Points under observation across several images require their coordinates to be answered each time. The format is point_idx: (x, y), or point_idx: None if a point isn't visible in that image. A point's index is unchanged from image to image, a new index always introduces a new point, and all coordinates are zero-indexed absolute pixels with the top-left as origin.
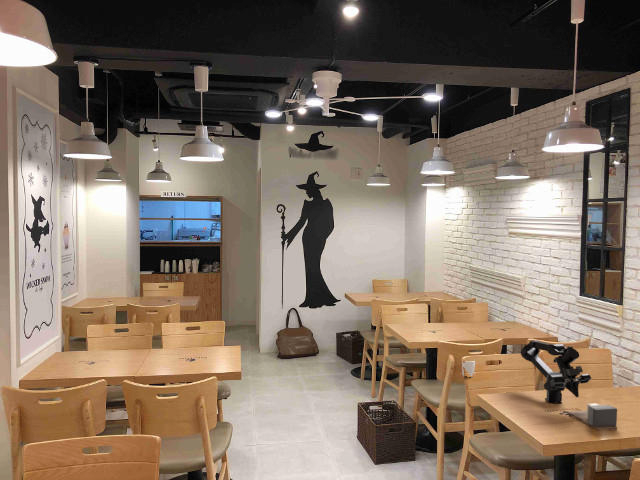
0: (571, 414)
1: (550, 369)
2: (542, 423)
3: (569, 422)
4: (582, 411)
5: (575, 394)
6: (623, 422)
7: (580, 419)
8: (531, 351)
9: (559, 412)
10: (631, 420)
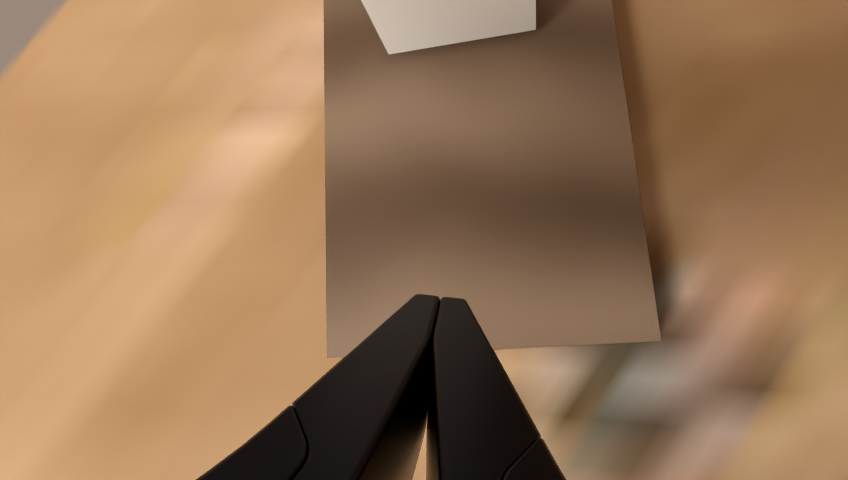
0: (644, 238)
1: None
2: None
3: (822, 14)
4: None
5: (485, 345)
6: (121, 49)
7: (616, 56)
8: None
9: (758, 419)
10: (3, 104)
